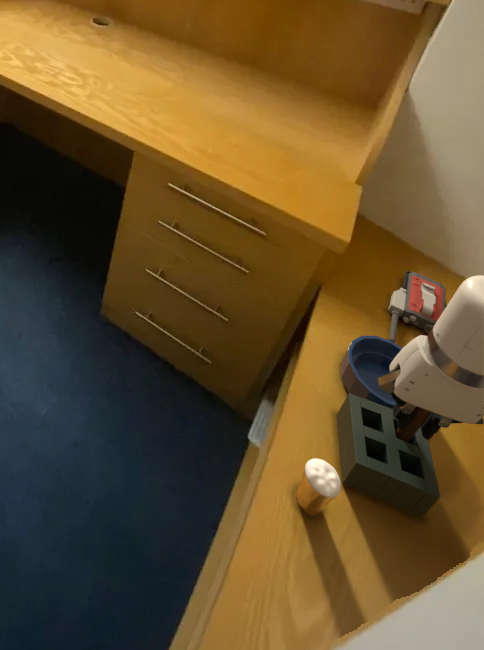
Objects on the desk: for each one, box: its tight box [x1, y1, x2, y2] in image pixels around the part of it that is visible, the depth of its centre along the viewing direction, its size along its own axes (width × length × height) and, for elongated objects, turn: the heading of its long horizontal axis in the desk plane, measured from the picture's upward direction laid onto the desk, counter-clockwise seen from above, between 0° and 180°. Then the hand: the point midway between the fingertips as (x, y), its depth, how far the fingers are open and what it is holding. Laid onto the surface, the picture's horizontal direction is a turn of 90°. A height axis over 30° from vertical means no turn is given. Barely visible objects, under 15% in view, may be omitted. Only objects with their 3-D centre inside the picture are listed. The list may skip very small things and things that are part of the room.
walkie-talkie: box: [388, 270, 447, 344], centre depth 100 cm, size 9×4×20 cm
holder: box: [336, 393, 441, 518], centre depth 78 cm, size 10×10×7 cm
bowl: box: [339, 335, 404, 409], centre depth 88 cm, size 12×12×6 cm
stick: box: [395, 406, 431, 443], centre depth 77 cm, size 2×2×15 cm
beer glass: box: [295, 457, 342, 516], centre depth 73 cm, size 5×5×10 cm
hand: (411, 423), depth 76 cm, fingers closed
